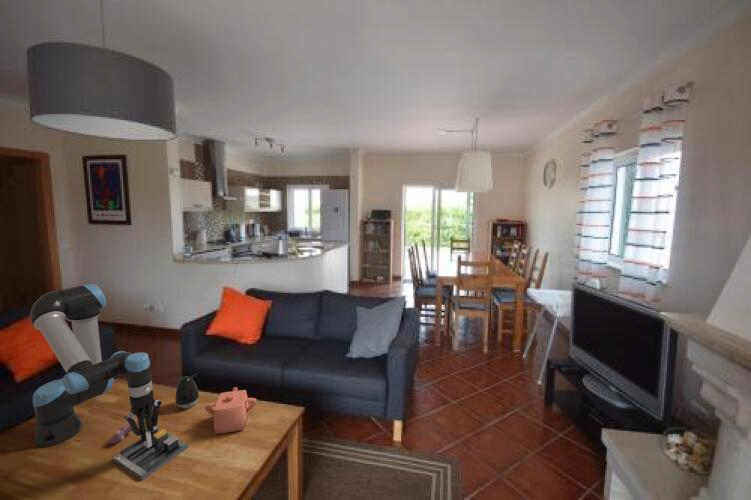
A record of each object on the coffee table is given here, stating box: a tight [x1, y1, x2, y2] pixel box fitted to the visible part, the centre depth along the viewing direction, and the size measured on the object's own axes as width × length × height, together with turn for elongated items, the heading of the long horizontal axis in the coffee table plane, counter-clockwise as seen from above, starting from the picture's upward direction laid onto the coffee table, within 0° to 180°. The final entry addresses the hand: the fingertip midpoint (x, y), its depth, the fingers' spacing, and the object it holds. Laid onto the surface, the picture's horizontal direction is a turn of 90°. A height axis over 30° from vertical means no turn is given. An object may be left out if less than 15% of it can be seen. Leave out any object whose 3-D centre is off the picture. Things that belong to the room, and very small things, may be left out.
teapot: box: [204, 386, 257, 435], centre depth 156 cm, size 20×22×14 cm
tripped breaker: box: [153, 428, 169, 448], centre depth 139 cm, size 3×4×5 cm
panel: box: [112, 426, 189, 481], centre depth 135 cm, size 20×18×6 cm
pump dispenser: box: [174, 373, 200, 409], centre depth 166 cm, size 10×10×15 cm
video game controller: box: [108, 422, 138, 445], centre depth 145 cm, size 10×5×7 cm, turn 169°
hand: (148, 445), depth 135 cm, fingers closed
